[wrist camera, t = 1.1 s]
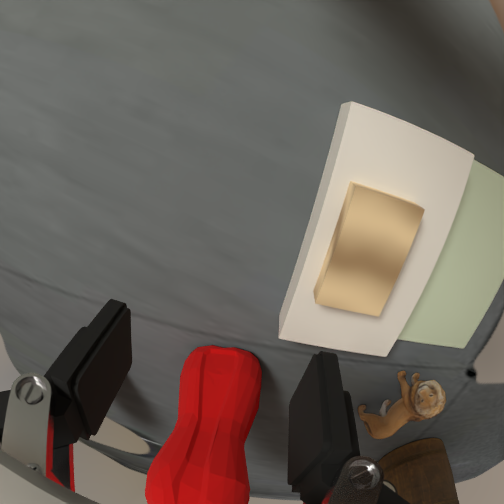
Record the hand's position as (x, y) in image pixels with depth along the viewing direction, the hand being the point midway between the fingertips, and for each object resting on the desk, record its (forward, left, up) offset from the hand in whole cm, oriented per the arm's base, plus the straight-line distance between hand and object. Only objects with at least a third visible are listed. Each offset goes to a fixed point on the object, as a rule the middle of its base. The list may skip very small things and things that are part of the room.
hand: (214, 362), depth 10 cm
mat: (0, +25, -20) cm, 31 cm away
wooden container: (+41, +42, -20) cm, 62 cm away
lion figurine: (+19, +24, -20) cm, 37 cm away
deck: (0, +11, -20) cm, 23 cm away
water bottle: (+22, +1, -20) cm, 30 cm away
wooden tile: (0, +10, -16) cm, 18 cm away
